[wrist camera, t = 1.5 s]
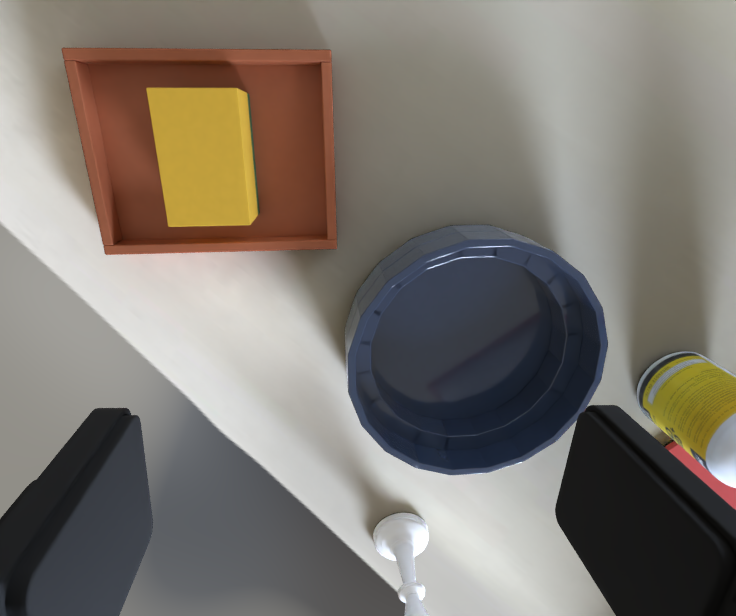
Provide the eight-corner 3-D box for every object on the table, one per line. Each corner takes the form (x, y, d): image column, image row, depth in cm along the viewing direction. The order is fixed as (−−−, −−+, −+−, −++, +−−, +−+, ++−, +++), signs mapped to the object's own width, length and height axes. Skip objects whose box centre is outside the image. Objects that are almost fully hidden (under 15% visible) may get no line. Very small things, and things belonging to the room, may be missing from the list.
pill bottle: (616, 388, 38) (734, 493, 27) (681, 332, 36) (833, 418, 25) (661, 430, 39) (787, 544, 29) (724, 379, 38) (882, 477, 27)
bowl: (342, 225, 31) (344, 242, 26) (586, 220, 32) (630, 235, 28) (347, 438, 37) (350, 482, 32) (552, 426, 38) (584, 467, 34)
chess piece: (374, 512, 40) (389, 628, 31) (430, 511, 40) (461, 625, 31) (371, 555, 42) (384, 677, 32) (425, 553, 42) (453, 673, 33)
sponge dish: (79, 53, 26) (60, 47, 24) (330, 55, 27) (331, 49, 25) (118, 247, 30) (104, 255, 28) (336, 242, 31) (337, 249, 29)
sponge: (170, 93, 27) (145, 87, 23) (249, 93, 27) (237, 87, 24) (187, 214, 29) (167, 227, 26) (260, 213, 30) (250, 225, 26)
